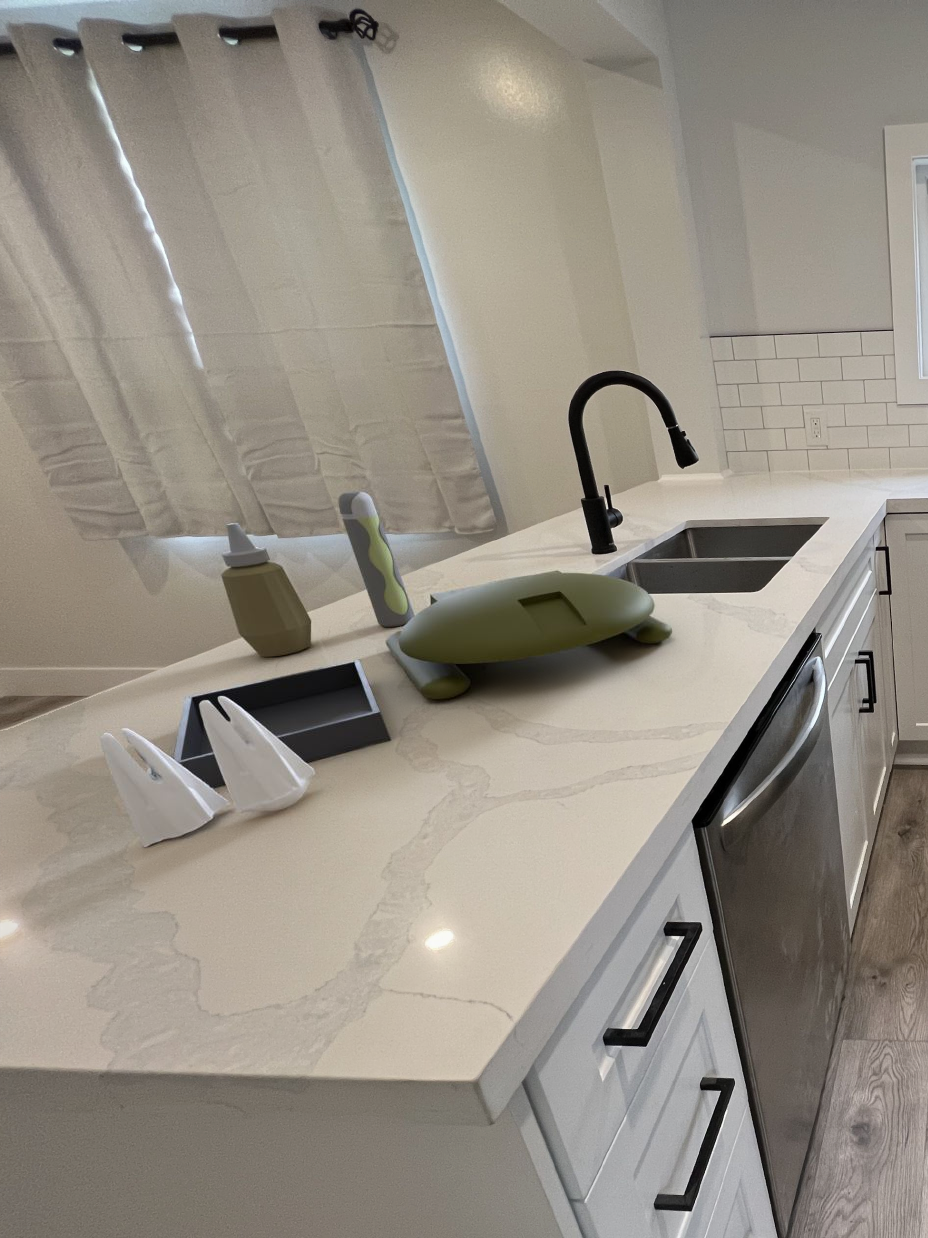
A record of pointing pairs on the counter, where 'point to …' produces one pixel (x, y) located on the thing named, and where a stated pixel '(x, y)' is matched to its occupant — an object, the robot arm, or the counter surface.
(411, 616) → the grey and green bar
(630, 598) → the spaceship
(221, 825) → the counter surface
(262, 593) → the squeeze bottle
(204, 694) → the dark grey tray
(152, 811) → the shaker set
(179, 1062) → the counter surface
